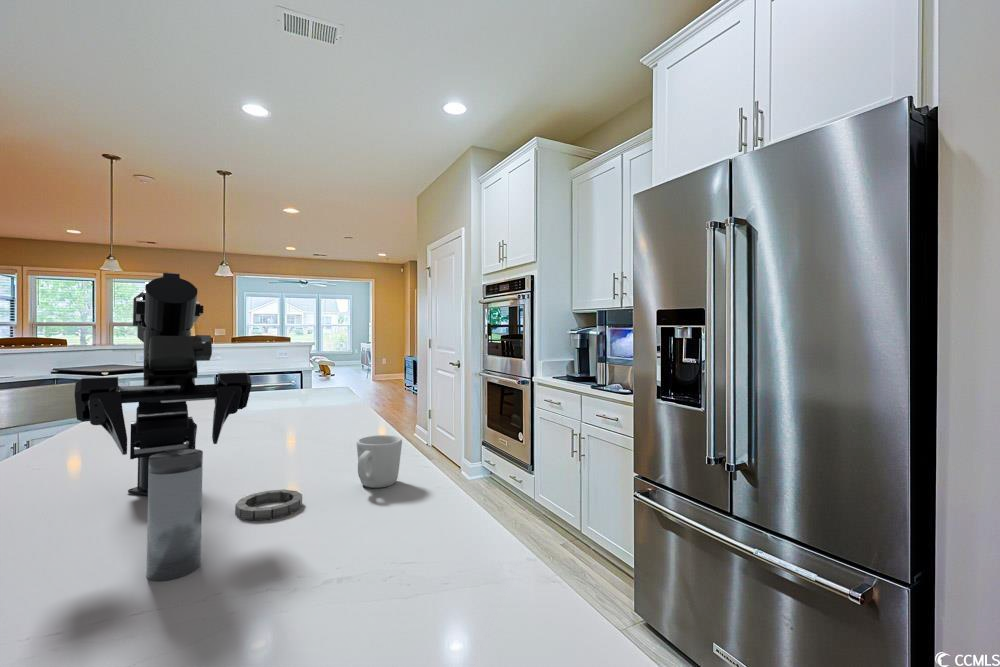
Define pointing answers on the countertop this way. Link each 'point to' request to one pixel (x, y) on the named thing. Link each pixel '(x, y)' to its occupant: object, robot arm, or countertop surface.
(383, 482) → the cup
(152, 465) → the dark grey metallic cylinder
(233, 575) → the countertop surface
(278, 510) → the ring
